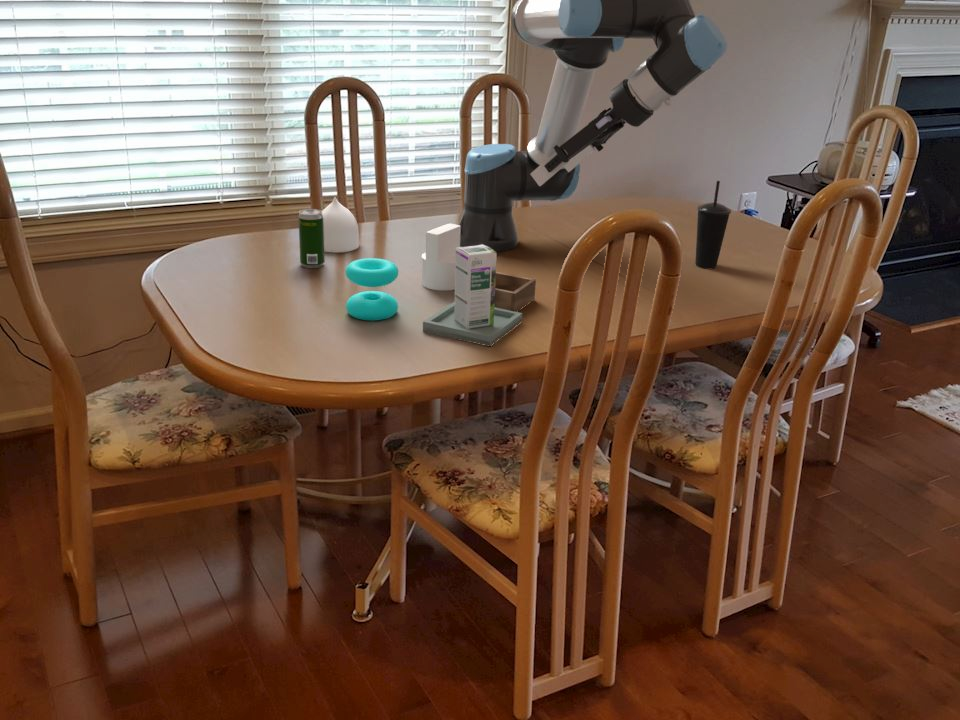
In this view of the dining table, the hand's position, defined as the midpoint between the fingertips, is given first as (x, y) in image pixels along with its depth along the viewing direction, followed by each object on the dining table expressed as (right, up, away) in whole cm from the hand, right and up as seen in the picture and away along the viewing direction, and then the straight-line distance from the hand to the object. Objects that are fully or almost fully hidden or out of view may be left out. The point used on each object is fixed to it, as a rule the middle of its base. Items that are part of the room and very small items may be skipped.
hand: (550, 172), depth 166 cm
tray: (-14, -27, +10) cm, 32 cm away
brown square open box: (-8, -22, +23) cm, 33 cm away
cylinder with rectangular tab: (-21, -17, +33) cm, 42 cm away
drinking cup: (+40, -11, +52) cm, 67 cm away
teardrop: (-47, -6, +54) cm, 72 cm away
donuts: (-34, -24, +15) cm, 44 cm away
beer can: (-50, -12, +40) cm, 65 cm away
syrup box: (-14, -26, +10) cm, 31 cm away
